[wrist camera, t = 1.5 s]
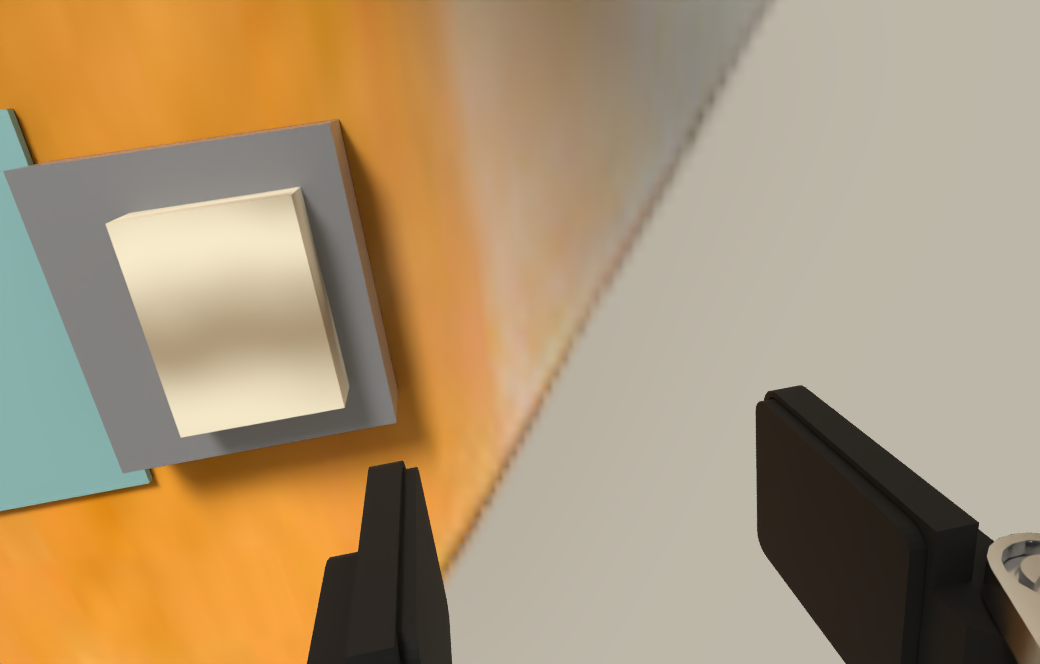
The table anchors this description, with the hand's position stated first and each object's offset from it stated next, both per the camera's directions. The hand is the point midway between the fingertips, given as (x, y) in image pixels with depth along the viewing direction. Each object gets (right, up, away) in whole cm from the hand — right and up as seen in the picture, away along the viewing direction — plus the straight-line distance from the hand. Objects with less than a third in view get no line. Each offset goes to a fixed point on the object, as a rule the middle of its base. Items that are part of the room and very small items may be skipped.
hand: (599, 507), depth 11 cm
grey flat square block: (-13, +5, +17) cm, 22 cm away
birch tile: (-12, +4, +15) cm, 19 cm away
